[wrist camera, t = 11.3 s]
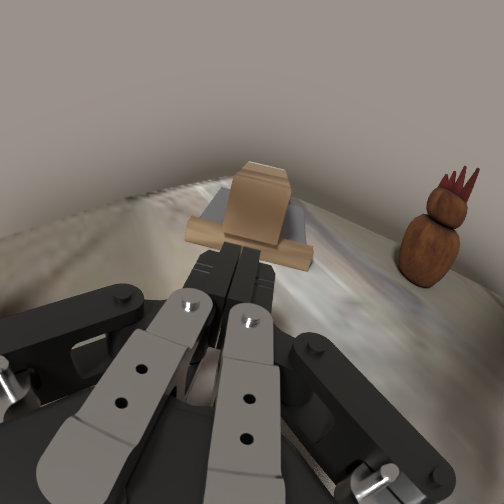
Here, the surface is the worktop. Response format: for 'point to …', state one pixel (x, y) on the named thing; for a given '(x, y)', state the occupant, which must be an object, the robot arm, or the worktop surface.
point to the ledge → (250, 244)
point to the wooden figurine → (436, 232)
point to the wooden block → (257, 203)
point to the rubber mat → (290, 228)
